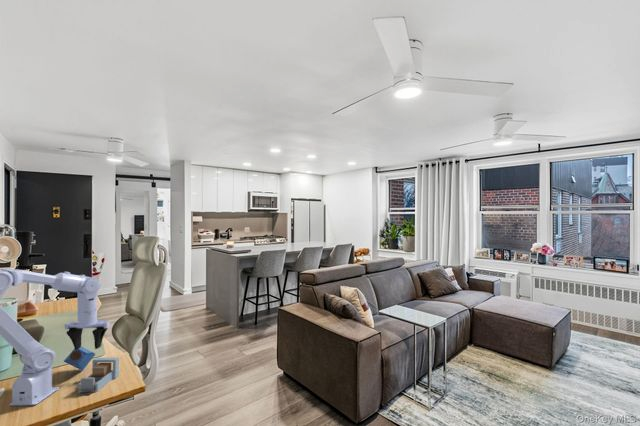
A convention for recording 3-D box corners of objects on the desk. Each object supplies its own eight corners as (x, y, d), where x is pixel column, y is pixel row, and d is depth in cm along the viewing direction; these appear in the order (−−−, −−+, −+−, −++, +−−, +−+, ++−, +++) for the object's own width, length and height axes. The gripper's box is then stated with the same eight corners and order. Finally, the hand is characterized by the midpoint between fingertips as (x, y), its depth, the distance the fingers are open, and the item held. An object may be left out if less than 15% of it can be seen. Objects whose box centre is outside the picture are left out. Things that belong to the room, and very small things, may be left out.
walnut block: (104, 379, 109) (104, 368, 109) (92, 379, 109) (92, 368, 109) (111, 373, 113) (111, 362, 113) (99, 374, 113) (99, 362, 113)
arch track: (96, 394, 102) (96, 374, 102) (70, 395, 102) (71, 374, 102) (125, 370, 118) (125, 352, 118) (103, 370, 118) (103, 352, 118)
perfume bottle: (95, 354, 122) (90, 350, 113) (82, 370, 119) (76, 368, 109) (80, 346, 121) (74, 342, 112) (67, 362, 118) (59, 360, 108)
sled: (93, 390, 104) (93, 378, 104) (80, 391, 104) (80, 378, 104) (112, 375, 114) (112, 364, 114) (101, 375, 114) (101, 364, 114)
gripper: (114, 306, 118) (115, 342, 119) (74, 307, 118) (74, 343, 118) (103, 312, 111) (103, 351, 112) (60, 313, 111) (60, 352, 111)
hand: (87, 348), depth 114 cm, fingers open, 6 cm apart
